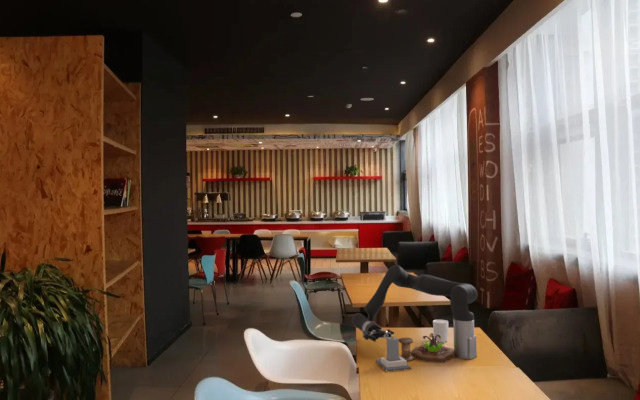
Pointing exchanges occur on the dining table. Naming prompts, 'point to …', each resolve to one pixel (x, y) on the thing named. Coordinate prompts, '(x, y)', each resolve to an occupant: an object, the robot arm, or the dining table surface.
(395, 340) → the gray block with knob
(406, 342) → the bobbin
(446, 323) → the white cup
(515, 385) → the dining table surface
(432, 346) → the plant
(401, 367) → the grey u-shaped stand base
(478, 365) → the dining table surface
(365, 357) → the dining table surface
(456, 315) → the robot arm
